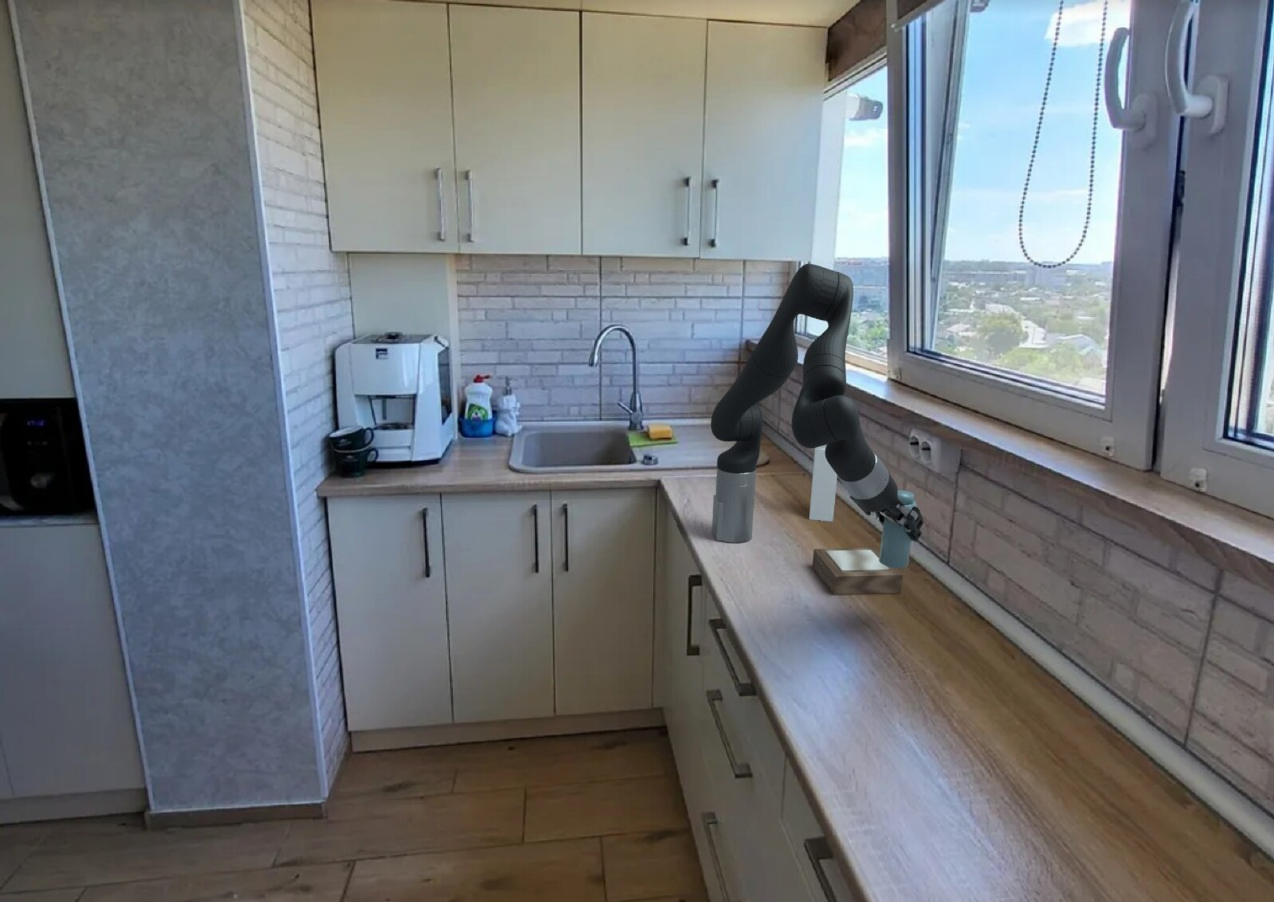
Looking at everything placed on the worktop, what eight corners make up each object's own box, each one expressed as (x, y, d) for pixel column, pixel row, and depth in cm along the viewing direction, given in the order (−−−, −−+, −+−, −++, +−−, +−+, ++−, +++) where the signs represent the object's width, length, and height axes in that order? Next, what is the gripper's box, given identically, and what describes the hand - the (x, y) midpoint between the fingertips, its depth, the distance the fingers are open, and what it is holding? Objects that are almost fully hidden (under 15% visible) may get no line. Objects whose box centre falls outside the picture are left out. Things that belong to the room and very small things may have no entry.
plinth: (834, 594, 149) (836, 574, 148) (812, 565, 162) (814, 547, 161) (900, 592, 150) (903, 573, 149) (873, 564, 164) (875, 546, 162)
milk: (809, 519, 190) (815, 437, 184) (809, 512, 196) (815, 431, 190) (833, 522, 189) (840, 439, 183) (833, 514, 194) (840, 433, 188)
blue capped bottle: (885, 568, 134) (894, 498, 131) (874, 556, 139) (882, 488, 136) (913, 567, 135) (922, 498, 131) (901, 556, 140) (909, 488, 136)
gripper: (913, 474, 122) (948, 528, 131) (846, 453, 133) (883, 504, 143) (889, 510, 120) (926, 562, 130) (823, 485, 132) (861, 535, 142)
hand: (903, 531), depth 136 cm, fingers closed on blue capped bottle, 5 cm apart
